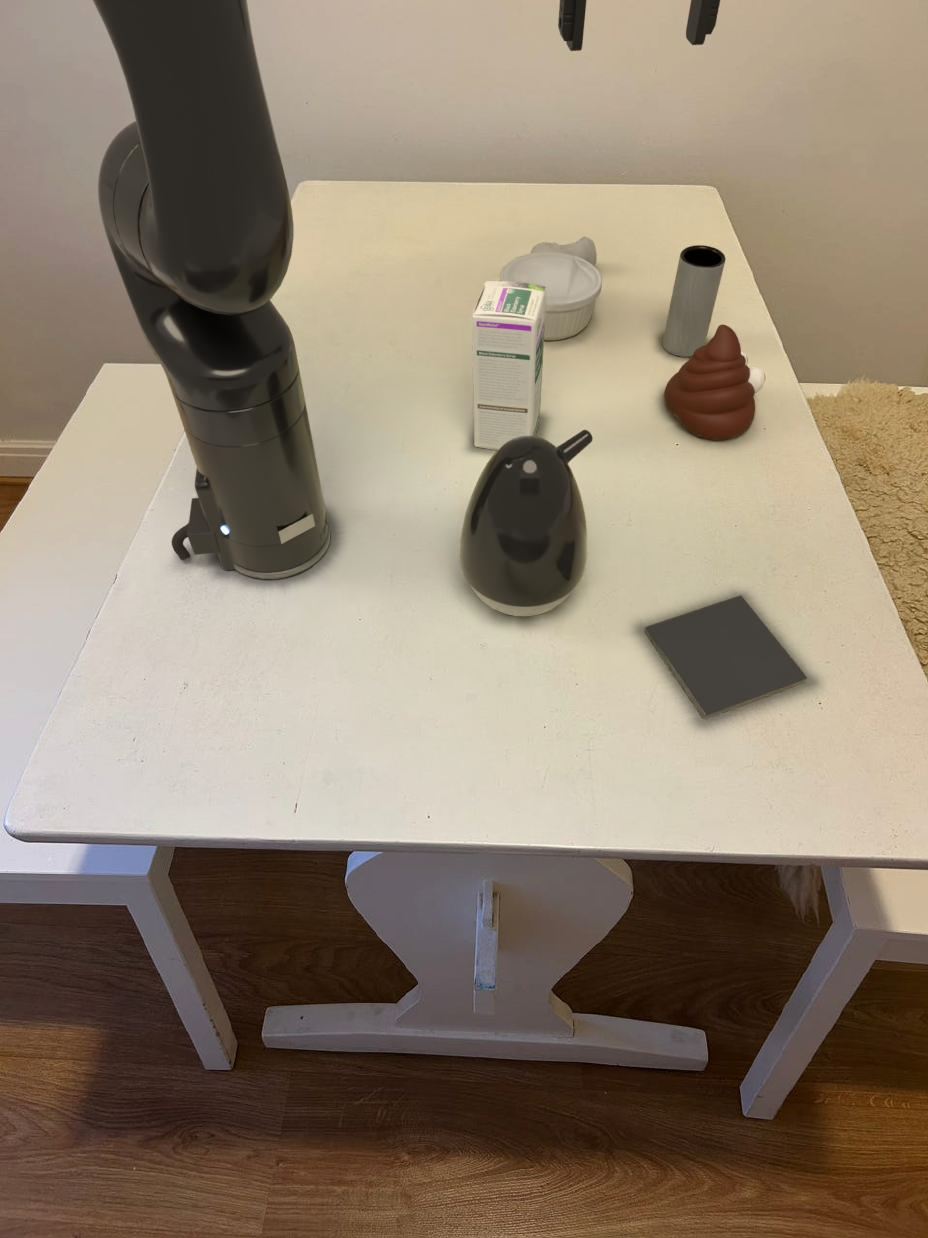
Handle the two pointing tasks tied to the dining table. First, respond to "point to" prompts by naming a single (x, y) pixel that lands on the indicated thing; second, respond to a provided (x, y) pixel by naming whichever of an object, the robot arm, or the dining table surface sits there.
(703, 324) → the planter
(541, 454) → the pump dispenser
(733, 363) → the poop emoji
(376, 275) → the dining table surface
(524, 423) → the syrup box
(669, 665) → the slate coaster
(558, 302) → the ramekin
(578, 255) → the pale two-lobed sculpture
